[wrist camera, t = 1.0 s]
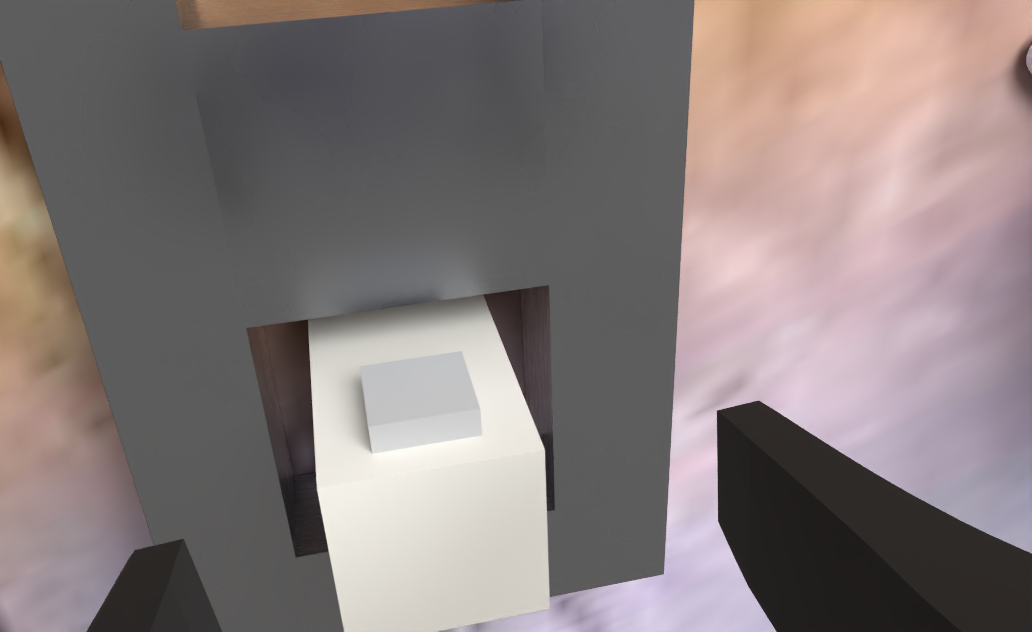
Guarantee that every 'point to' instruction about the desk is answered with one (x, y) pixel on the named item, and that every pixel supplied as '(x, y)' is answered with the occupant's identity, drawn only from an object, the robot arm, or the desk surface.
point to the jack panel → (363, 242)
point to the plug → (426, 469)
